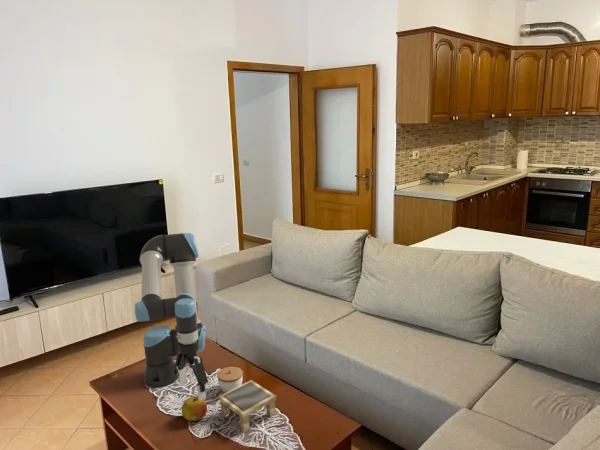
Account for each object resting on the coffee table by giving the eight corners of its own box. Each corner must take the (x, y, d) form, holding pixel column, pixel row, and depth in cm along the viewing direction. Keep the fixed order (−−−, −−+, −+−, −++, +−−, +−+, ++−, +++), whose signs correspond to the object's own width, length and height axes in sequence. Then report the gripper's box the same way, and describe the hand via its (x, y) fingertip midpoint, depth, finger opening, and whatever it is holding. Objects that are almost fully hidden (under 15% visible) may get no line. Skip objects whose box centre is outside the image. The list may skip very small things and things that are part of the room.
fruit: (206, 408, 184) (204, 390, 182) (209, 422, 176) (207, 403, 174) (181, 413, 181) (179, 395, 180) (183, 428, 173) (181, 409, 171)
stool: (219, 414, 180) (218, 395, 178) (252, 397, 191) (251, 379, 189) (244, 433, 169) (242, 413, 167) (277, 414, 180) (276, 395, 178)
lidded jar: (238, 397, 191) (237, 377, 189) (214, 395, 193) (213, 375, 191) (246, 383, 201) (245, 364, 199) (223, 381, 203) (222, 362, 201)
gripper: (163, 333, 178) (168, 382, 182) (196, 355, 160) (201, 409, 164) (180, 327, 183) (185, 375, 187) (215, 347, 165) (219, 400, 169)
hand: (192, 391), depth 176 cm, fingers open, 13 cm apart
